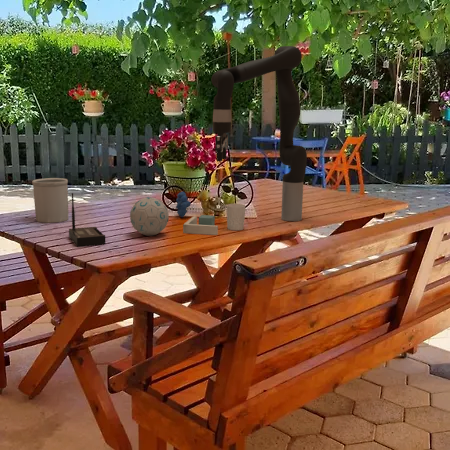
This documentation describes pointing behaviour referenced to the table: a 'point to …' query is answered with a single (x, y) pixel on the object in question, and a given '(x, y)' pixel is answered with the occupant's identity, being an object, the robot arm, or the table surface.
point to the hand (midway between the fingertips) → (221, 160)
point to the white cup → (235, 216)
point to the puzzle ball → (149, 216)
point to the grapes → (182, 204)
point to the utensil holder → (51, 199)
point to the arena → (199, 228)
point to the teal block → (207, 220)
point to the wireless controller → (85, 234)
